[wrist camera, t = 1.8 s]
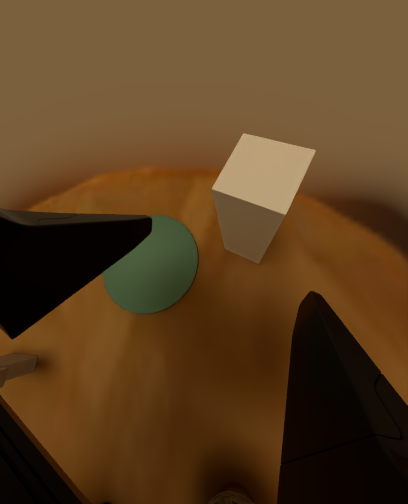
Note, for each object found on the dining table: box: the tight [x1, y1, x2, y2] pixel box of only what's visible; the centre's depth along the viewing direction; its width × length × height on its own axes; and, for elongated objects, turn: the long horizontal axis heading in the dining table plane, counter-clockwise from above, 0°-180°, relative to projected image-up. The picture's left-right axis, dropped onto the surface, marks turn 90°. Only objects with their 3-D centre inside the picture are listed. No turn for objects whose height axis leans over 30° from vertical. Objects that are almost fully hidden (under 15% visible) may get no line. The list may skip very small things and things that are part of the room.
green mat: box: [103, 215, 198, 314], centre depth 23 cm, size 13×13×1 cm
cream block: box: [212, 134, 316, 264], centre depth 16 cm, size 4×4×12 cm
